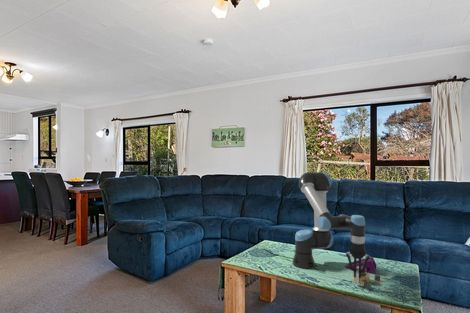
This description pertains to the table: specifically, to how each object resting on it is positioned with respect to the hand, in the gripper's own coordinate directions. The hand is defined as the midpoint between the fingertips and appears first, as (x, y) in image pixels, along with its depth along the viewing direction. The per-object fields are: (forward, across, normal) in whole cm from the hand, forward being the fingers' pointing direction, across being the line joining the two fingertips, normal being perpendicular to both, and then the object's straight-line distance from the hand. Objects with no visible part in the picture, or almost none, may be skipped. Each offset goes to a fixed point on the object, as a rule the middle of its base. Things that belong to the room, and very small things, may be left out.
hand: (357, 283), depth 162 cm
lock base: (+3, +2, +8) cm, 9 cm away
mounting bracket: (+3, +2, +28) cm, 28 cm away
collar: (+1, +3, +4) cm, 5 cm away
